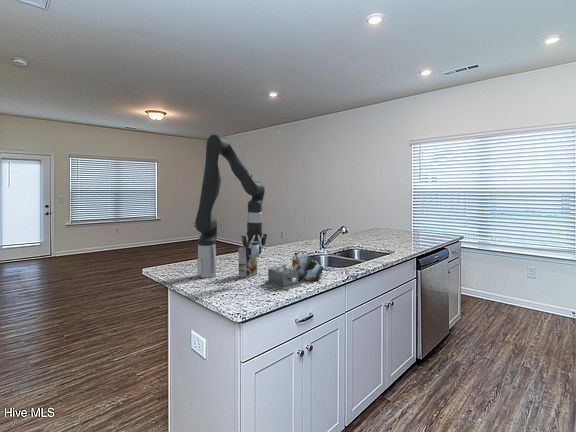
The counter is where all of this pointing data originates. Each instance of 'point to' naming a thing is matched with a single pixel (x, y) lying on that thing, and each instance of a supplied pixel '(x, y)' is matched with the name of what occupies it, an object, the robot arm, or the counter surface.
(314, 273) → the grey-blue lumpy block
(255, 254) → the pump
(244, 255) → the coffee box
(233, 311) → the counter surface
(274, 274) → the motor
